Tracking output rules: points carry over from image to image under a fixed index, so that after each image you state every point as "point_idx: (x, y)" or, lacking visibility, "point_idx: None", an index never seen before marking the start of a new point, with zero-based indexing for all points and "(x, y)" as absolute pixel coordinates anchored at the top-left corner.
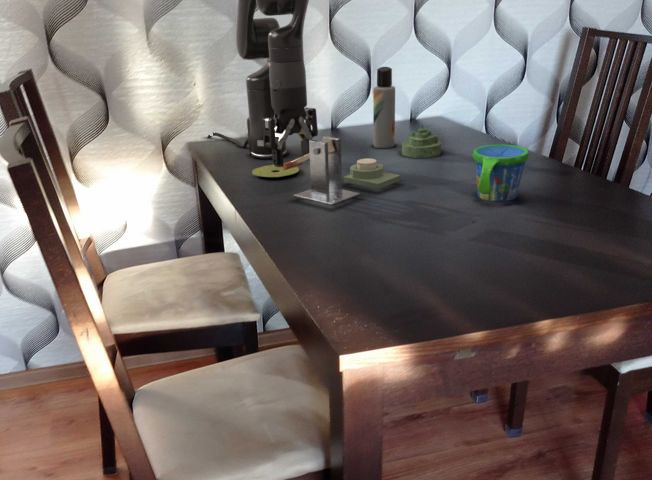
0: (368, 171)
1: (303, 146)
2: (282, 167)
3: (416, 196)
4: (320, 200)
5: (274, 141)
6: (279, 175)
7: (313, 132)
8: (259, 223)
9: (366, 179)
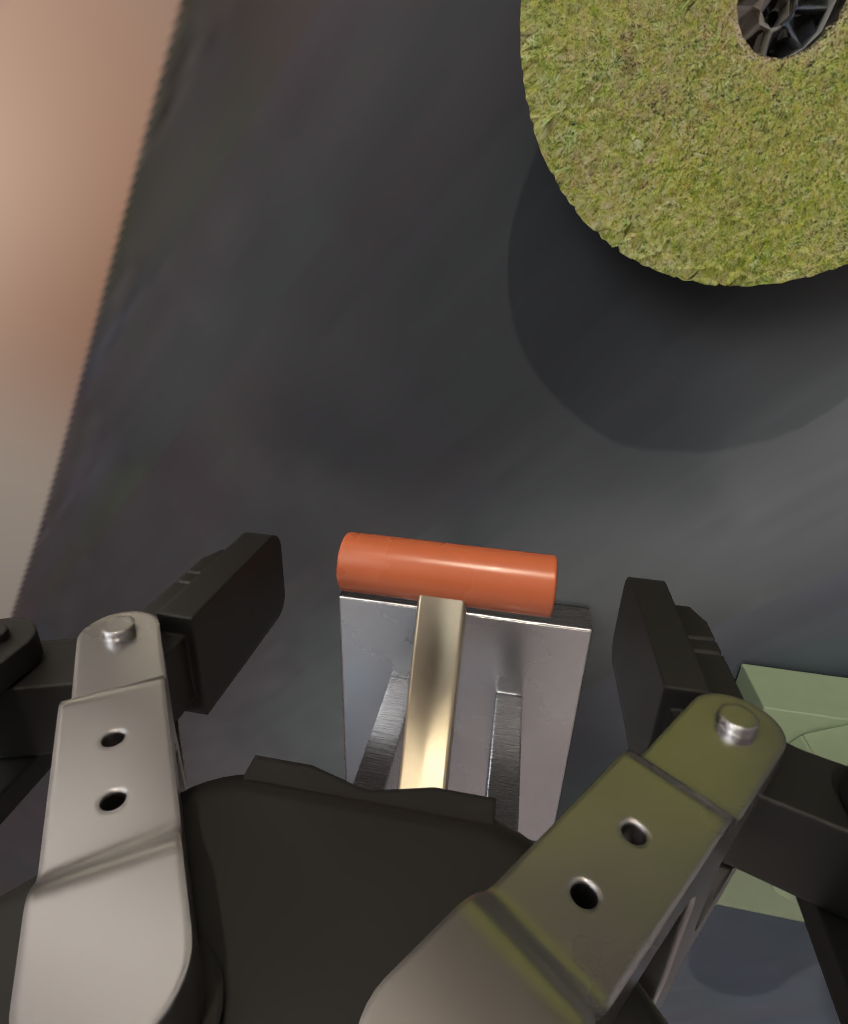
0: (776, 890)
1: (643, 675)
2: (348, 534)
3: (709, 967)
4: (351, 748)
5: (14, 789)
6: (631, 209)
7: (811, 913)
8: (51, 621)
9: None
